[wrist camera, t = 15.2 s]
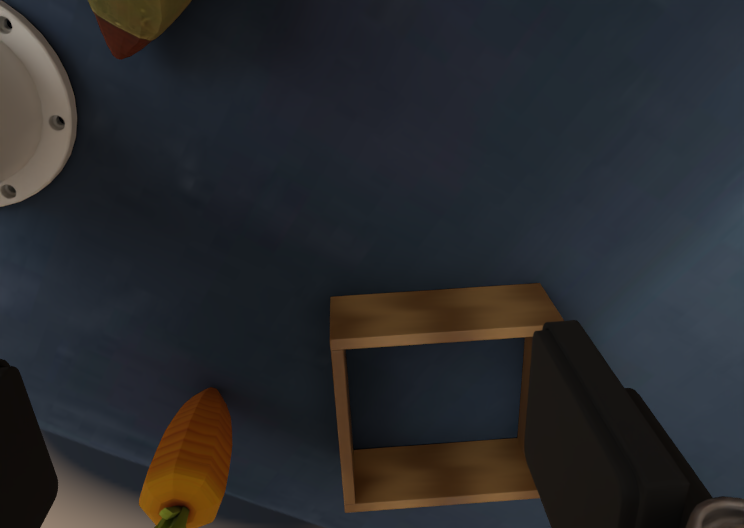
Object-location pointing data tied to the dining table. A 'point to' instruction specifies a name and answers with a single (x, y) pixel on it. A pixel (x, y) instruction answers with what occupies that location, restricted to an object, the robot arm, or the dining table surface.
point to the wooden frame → (446, 460)
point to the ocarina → (134, 22)
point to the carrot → (190, 465)
